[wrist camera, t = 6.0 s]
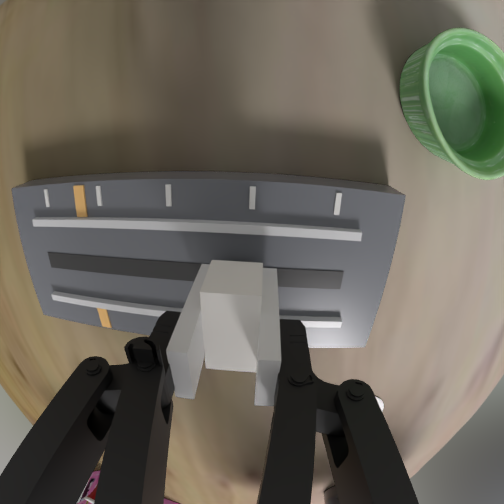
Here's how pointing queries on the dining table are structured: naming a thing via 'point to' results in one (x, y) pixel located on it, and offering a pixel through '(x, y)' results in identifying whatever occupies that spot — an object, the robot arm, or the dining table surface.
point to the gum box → (93, 483)
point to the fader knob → (231, 314)
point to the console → (208, 245)
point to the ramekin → (458, 100)
